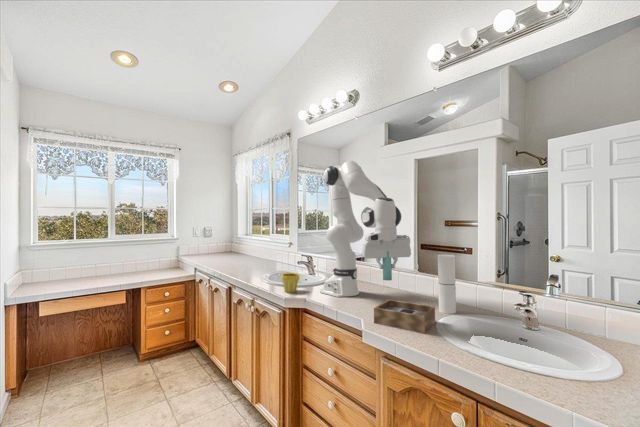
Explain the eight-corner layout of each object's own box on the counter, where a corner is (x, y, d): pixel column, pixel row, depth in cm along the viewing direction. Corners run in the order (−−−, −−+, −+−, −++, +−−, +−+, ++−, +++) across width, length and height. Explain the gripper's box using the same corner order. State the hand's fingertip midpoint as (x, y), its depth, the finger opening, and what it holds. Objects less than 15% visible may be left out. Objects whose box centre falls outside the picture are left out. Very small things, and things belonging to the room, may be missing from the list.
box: (373, 322, 122) (373, 307, 122) (388, 312, 134) (388, 299, 134) (424, 333, 110) (423, 316, 110) (435, 321, 122) (434, 306, 122)
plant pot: (303, 291, 175) (302, 274, 175) (288, 294, 168) (288, 277, 168) (292, 288, 183) (292, 272, 183) (278, 291, 176) (278, 274, 176)
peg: (382, 279, 128) (381, 250, 128) (390, 278, 128) (389, 250, 129) (384, 280, 124) (383, 251, 125) (393, 280, 125) (392, 251, 125)
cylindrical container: (435, 310, 137) (434, 255, 137) (447, 308, 140) (446, 254, 140) (447, 314, 131) (446, 256, 131) (459, 312, 133) (458, 255, 134)
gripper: (407, 234, 131) (408, 266, 131) (360, 236, 129) (361, 268, 129) (412, 235, 125) (414, 268, 124) (364, 236, 123) (365, 270, 123)
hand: (387, 268), depth 127 cm, fingers closed on peg, 4 cm apart
